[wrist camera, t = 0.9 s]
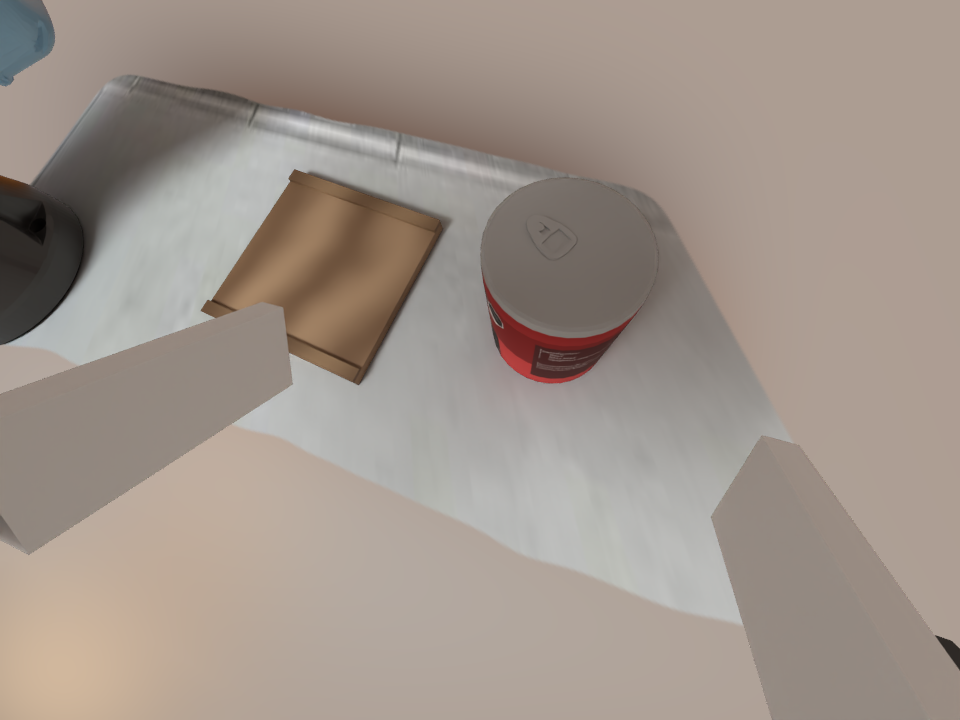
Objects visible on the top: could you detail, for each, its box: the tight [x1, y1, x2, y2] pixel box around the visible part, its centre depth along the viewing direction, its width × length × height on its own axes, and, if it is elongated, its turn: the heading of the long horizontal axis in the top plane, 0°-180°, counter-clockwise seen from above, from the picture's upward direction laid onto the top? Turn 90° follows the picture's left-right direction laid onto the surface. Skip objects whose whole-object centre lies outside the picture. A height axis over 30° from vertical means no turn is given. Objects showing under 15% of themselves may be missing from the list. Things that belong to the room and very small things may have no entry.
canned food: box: [481, 177, 658, 383], centre depth 22 cm, size 8×8×11 cm
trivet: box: [201, 169, 443, 385], centre depth 29 cm, size 14×14×1 cm
